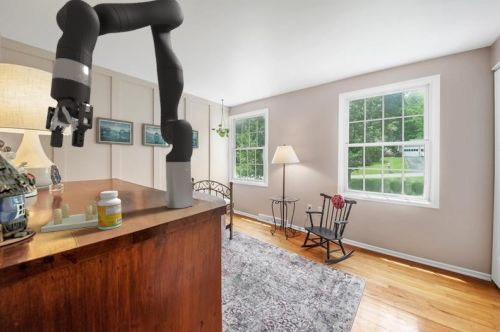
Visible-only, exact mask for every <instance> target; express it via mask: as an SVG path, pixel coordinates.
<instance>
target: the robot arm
mask: <svg viewBox="0 0 500 332" xmlns="http://www.w3.org/2000/svg"><path fill="white" fill-rule="evenodd" d="M56 12H57V13H56V15H55V20H56V25H57V27H58V28H59V29H60V30H61V31H62V34H61V36H60V37H59V39H58V40H57V44H56V47H55V48H56V50H55V57H54V58H55V59H54V64H53V66H52V67H53V68H52V73H51V83H50V85H51V86H50V94H49V95H50V97H51V98H52V99H53V100H54V101H56V102H57V104H56V106H48V107H47V108H48V109H47V114H46V115H47V116H46V121H45V122H46V123H45V130H48V131H49V132H50V143H49V145H50V147H52V148H58V149H59V148H60V149H61V148H62V147H63V142H64V132H65V130H66V128H69V127H70V126H71V127H72V133H71V134H72V136H71V144H70V145H71V146H72V147H75V148H83V147H84V146H85V133H87V131H88V130H92V129H93V124H94V122H93V120H94V106H93V105H91V92H92V80H93V78H92V64H93V54H94V50H95V47H96V46H97V45H96V44H97V43H98V38H99V37H100V36H105V35H109V34H120V33H128V32H133V31H137V30H140V29H143V28H146V27H150V30H151V36H152V41H153V47H154V48H153V49H154V55H155V63H156V65H155V66H156V76H157V84H158V93H159V94H158V95H159V104H160V122H159V123H160V135H161V138H162V140H163V141H164V143H166V144H167V145H172V147H171V150H170V151H169V152H168V153H167V154H166V155H165V181H166V183H165V185H166V187H165V188H166V192H165V193H166V207H167V208H168V209H184V208H188V207H193V206H194V195H193V193H194V187H193V184H194V183H193V181H192V165H191V164H192V163H191V162H192V159H191V158H192V157H193V151H194V130H193V127H192V125H191V123H190V122H189V121H188V120H186V119H179V114H178V113H179V111H178V109H179V104H180V101H181V97H182V94H183V92H184V82H185V80H184V70H183V67H182V64H181V62H180V60H179V58H178V57H177V55H176V53H175V52H174V50H173V47H172V42H171V32H172V31H173V30H175V29H177V28H179V27H180V26H181V25H182V24H183V22H184V18H185V16H184V15H185V14H184V11H183V9H182V6H181V4H180V3H179V2H178V1H177V0H149V1H142V2H141V1H140V2H103V3H102V2H101V3H97V4H95V5H94V6H92V5H90V3H88V2H86V1H85V0H68V1H67V2H65V4H63V6H62V7H61V8H60V9H59V10H58V11H56Z"/></svg>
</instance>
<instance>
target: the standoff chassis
mask: <svg viewBox="0 0 500 332" xmlns="http://www.w3.org/2000/svg"><path fill="white" fill-rule="evenodd" d="M84 211H85V213H78V214H77V213H76V214H70V204H69V203H62V204H61V208H54V209H53V219H52V220H50V221H49V222H48V223H46V224H45V225H43V226H42V227H41V228H40V230H41V232H40V233H50V232H57V231H65V230H67V231H68V230H73V229H81V228H89V227H95V226H98V207H97V201H96V200H94V201H90V202H89V205H85V206H84Z"/></svg>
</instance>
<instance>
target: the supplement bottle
mask: <svg viewBox="0 0 500 332" xmlns="http://www.w3.org/2000/svg"><path fill="white" fill-rule="evenodd" d="M99 196H100V200H99V201H97V202H96V205H97V212H98V225H97V226H98V229H99V230H101V231H102V230H103V231H104V230H112V229H117V228H119V227H121V226H122V224H123V223H122V222H123V221H122V220H123V219H122V200H121V199H120V198H118V196H119V193H118V190H105V191H101V192H100V193H99Z"/></svg>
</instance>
